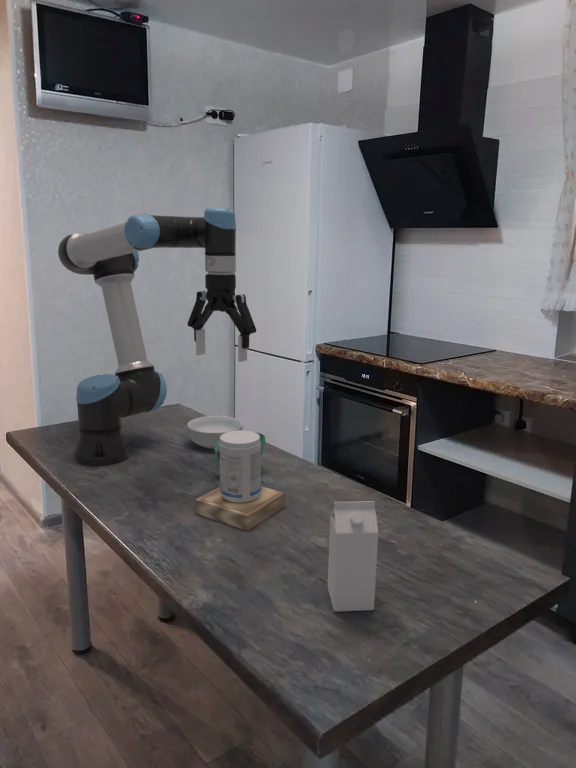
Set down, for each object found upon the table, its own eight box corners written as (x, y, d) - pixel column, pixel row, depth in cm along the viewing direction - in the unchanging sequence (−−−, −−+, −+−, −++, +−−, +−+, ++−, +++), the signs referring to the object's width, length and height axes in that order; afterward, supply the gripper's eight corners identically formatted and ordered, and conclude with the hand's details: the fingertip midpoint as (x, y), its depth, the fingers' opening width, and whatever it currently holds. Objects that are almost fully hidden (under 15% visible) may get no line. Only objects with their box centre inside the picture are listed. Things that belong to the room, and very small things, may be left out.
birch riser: (195, 513, 140) (195, 499, 139) (234, 491, 152) (234, 478, 151) (247, 530, 132) (247, 515, 131) (284, 506, 144) (284, 492, 144)
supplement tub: (251, 484, 148) (252, 427, 144) (267, 499, 139) (268, 439, 136) (214, 491, 143) (213, 432, 140) (228, 507, 135) (227, 445, 132)
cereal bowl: (177, 449, 181) (176, 427, 180) (203, 433, 197) (203, 413, 195) (228, 457, 176) (228, 434, 174) (251, 440, 191) (251, 419, 189)
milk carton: (327, 589, 111) (331, 493, 106) (365, 587, 111) (370, 492, 107) (333, 612, 104) (337, 511, 99) (373, 611, 104) (379, 510, 100)
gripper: (172, 271, 152) (174, 354, 157) (252, 276, 139) (252, 366, 144) (192, 270, 158) (193, 350, 163) (270, 275, 145) (269, 361, 150)
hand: (221, 357), depth 153 cm, fingers open, 13 cm apart
